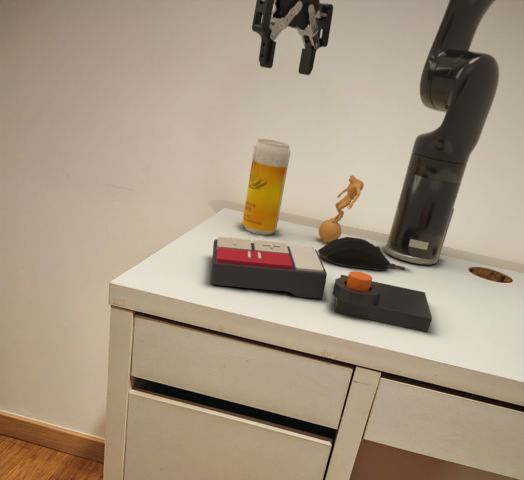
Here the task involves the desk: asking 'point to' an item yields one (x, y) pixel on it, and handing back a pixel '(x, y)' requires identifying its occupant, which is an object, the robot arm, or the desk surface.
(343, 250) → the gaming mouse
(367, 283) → the button
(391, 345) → the desk surface
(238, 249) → the red grey electronic device
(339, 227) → the figurine
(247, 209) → the beer can
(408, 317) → the black orange button box
